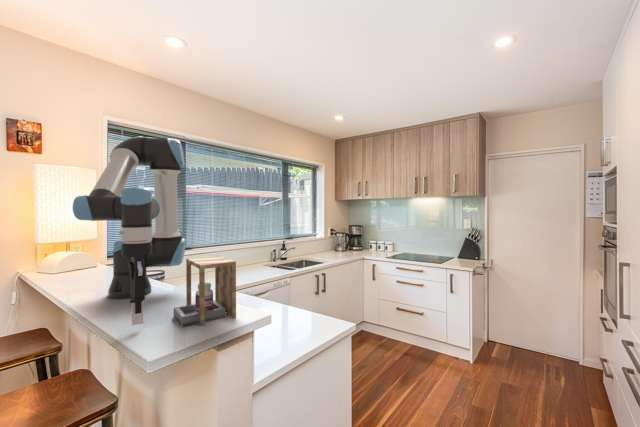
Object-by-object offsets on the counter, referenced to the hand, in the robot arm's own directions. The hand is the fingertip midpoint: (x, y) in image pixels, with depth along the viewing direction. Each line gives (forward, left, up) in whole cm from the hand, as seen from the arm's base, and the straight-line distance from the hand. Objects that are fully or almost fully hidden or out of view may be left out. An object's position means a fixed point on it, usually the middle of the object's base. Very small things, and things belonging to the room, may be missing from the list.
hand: (137, 323), depth 86 cm
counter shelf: (0, +21, -2) cm, 21 cm away
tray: (0, +17, -2) cm, 17 cm away
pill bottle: (0, +19, -1) cm, 19 cm away
